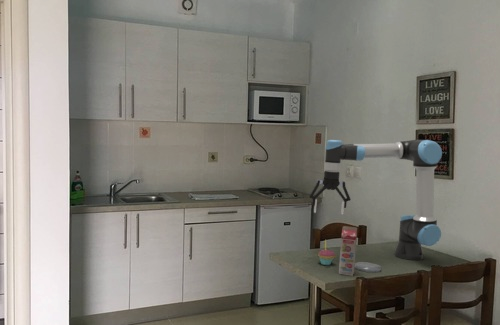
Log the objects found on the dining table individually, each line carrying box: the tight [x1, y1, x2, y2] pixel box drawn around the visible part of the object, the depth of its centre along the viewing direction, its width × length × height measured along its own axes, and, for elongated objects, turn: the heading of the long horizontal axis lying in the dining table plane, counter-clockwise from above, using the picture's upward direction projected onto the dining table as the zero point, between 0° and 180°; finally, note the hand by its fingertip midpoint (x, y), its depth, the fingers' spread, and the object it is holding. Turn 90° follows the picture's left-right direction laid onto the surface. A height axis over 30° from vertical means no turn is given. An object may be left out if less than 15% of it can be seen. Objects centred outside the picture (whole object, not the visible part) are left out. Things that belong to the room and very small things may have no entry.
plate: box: [354, 261, 382, 273], centre depth 227 cm, size 13×13×1 cm
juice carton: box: [338, 225, 358, 277], centre depth 217 cm, size 7×7×22 cm
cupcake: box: [317, 239, 336, 266], centre depth 230 cm, size 9×8×12 cm
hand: (328, 213), depth 230 cm, fingers open, 13 cm apart
